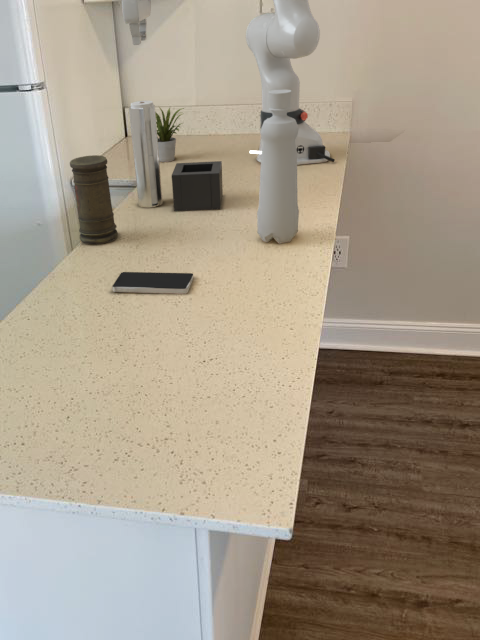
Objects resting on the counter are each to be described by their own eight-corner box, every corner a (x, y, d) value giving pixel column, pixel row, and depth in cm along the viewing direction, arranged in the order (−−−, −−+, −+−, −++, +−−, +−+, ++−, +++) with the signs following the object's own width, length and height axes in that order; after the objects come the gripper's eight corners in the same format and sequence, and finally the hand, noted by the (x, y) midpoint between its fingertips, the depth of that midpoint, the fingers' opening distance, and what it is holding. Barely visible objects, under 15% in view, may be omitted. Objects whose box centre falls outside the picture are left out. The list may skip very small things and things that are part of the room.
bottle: (302, 233, 153) (308, 87, 136) (291, 247, 146) (295, 95, 129) (264, 230, 156) (265, 87, 139) (251, 243, 150) (250, 95, 133)
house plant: (200, 156, 220) (197, 101, 211) (177, 166, 211) (174, 110, 202) (164, 153, 227) (160, 100, 218) (140, 163, 218) (135, 108, 208)
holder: (222, 195, 182) (221, 161, 176) (220, 209, 172) (219, 173, 167) (178, 197, 183) (176, 163, 178) (174, 211, 173) (171, 175, 168)
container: (123, 232, 162) (114, 154, 152) (108, 246, 155) (97, 164, 145) (90, 231, 165) (79, 154, 154) (73, 244, 158) (61, 164, 148)
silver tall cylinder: (164, 199, 182) (156, 98, 168) (161, 207, 177) (152, 103, 163) (140, 200, 183) (130, 100, 169) (136, 208, 178) (126, 105, 163)
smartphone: (186, 289, 129) (111, 287, 132) (186, 294, 130) (112, 293, 132) (193, 272, 135) (121, 271, 138) (193, 278, 136) (122, 276, 139)
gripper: (140, -28, 143) (147, 46, 151) (153, -30, 160) (158, 37, 168) (111, -25, 144) (119, 48, 152) (127, -28, 160) (133, 38, 168)
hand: (140, 42), depth 160 cm, fingers open, 8 cm apart
